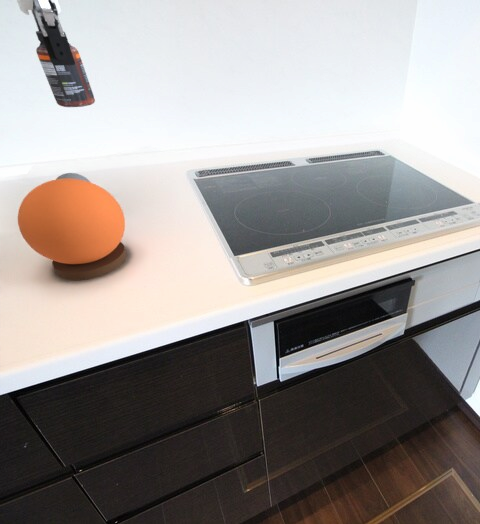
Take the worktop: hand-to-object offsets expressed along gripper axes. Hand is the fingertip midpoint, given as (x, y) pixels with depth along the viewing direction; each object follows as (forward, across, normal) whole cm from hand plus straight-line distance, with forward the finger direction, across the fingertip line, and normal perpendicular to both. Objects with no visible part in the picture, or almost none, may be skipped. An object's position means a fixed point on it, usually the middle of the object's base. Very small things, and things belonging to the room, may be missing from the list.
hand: (61, 61), depth 62 cm
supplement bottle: (+7, 0, 0) cm, 7 cm away
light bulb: (+27, +8, -6) cm, 28 cm away
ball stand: (+26, +22, -7) cm, 35 cm away
